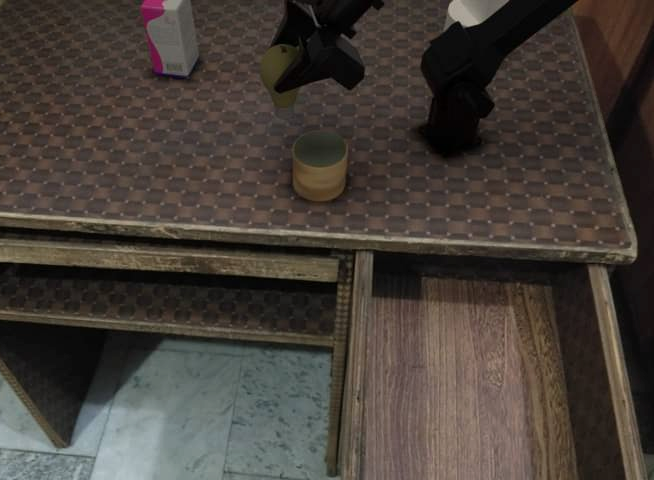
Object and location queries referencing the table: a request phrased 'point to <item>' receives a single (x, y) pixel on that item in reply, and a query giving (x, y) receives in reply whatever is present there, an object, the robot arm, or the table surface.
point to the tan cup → (319, 165)
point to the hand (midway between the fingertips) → (271, 75)
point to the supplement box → (171, 36)
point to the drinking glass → (471, 11)
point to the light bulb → (270, 73)
